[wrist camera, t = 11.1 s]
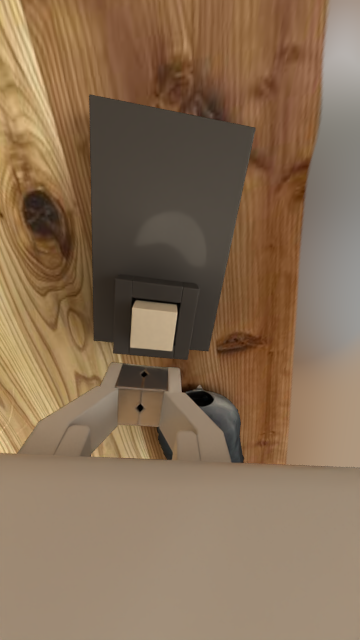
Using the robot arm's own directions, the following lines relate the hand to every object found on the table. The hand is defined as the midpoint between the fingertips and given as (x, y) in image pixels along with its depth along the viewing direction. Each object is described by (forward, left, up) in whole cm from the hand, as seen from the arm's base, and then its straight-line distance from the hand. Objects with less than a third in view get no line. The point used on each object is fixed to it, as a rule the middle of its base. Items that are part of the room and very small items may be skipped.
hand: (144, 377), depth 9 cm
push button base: (+5, 0, -11) cm, 12 cm away
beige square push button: (0, 0, -7) cm, 7 cm away
